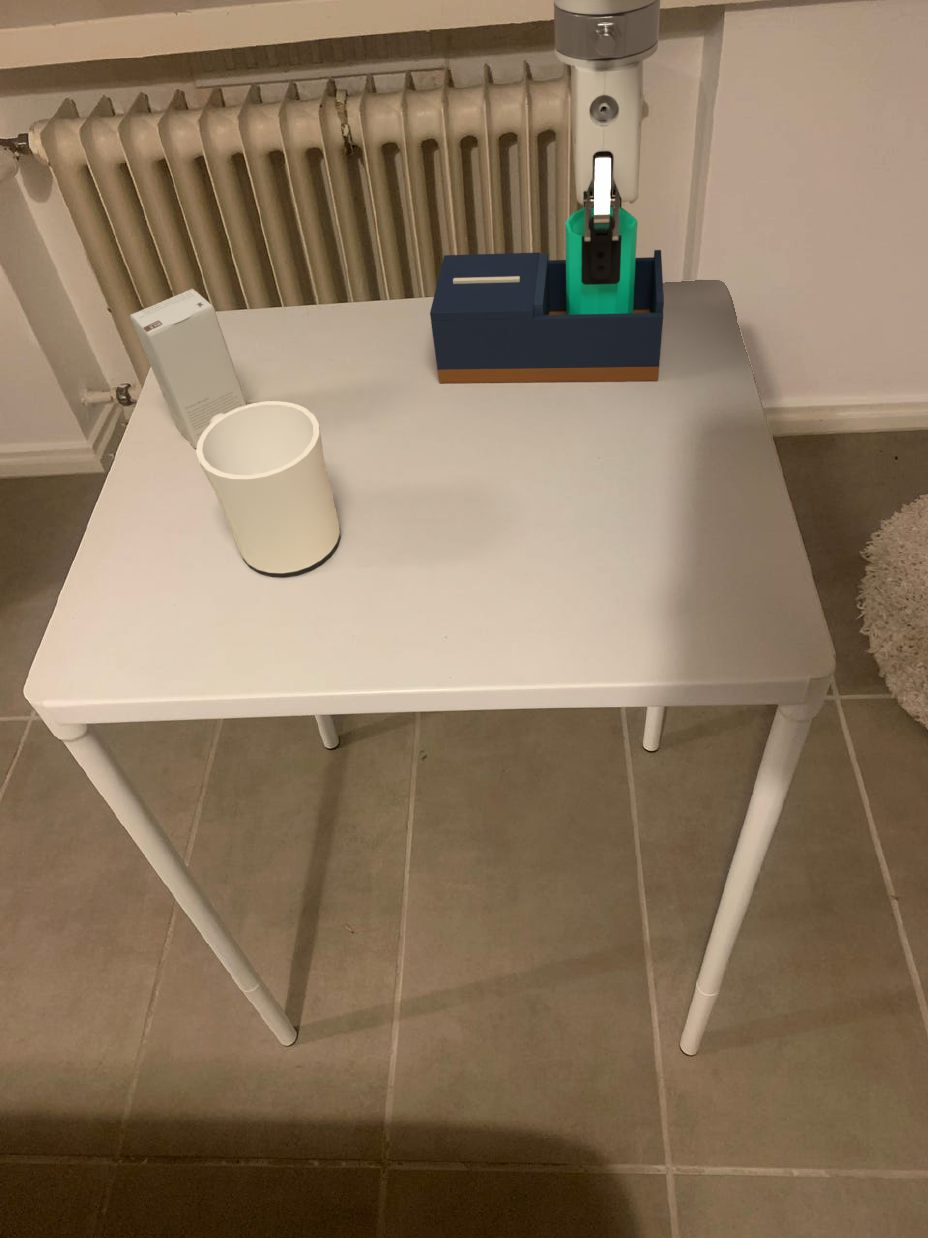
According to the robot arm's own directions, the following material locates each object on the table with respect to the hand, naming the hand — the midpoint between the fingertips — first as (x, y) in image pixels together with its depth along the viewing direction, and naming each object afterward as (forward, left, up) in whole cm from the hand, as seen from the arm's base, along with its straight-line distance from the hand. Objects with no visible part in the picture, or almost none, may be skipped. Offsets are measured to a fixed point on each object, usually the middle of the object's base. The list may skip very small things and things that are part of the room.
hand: (601, 260), depth 80 cm
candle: (0, 0, -7) cm, 7 cm away
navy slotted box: (+5, 0, -9) cm, 10 cm away
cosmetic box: (+35, +11, -9) cm, 38 cm away
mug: (+25, +25, -9) cm, 37 cm away
